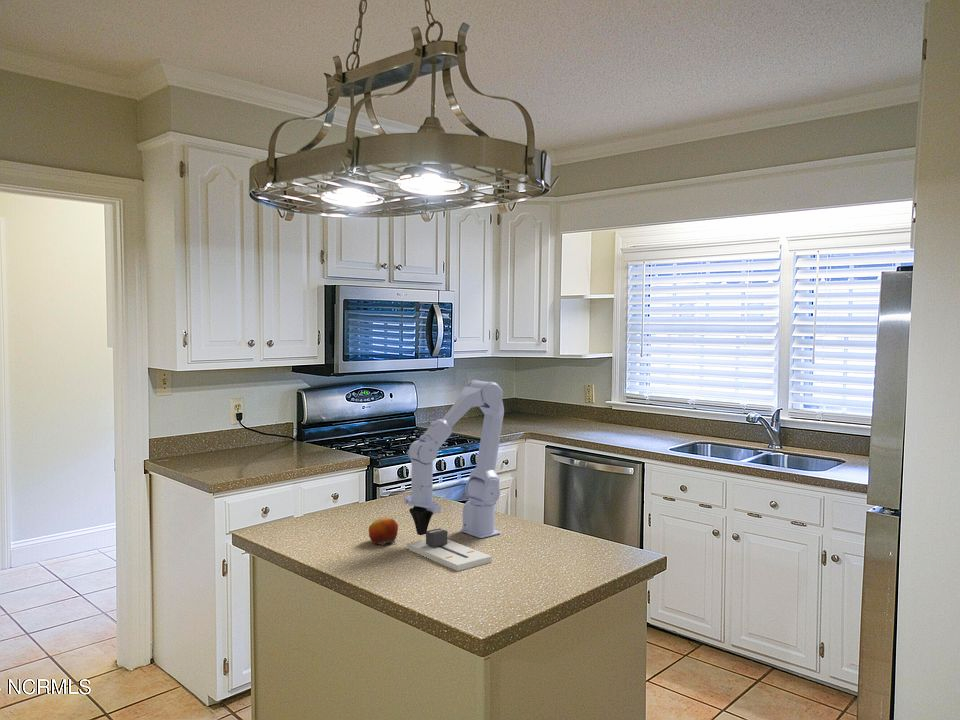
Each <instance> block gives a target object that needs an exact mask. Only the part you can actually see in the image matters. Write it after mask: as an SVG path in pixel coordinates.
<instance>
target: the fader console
mask: <svg viewBox="0 0 960 720" xmlns="http://www.w3.org/2000/svg"><path fill="white" fill-rule="evenodd" d="M407 549H409V550H408V551H410V550H411V551H410V552H412V551H413V552H412V553H414V552H415V553H414V554H416V553H418V554H417V555H419V554H420V555H419V556H421V555H422V557H423V556H424V558H426V557H427V558H426V559H428V558H429V559H428V560H430V559H431V561H433V562H435V563H437V562H438V563H437V564H440V565H442V566H445V567H446V568H450V569H452V570H454V571H456V572H460V571H464V570H467V569H471V568H474V567H478V566H482V565H486V564H491V563H492V561H493V560H492V559H493V557H492V555H489V554H486V553H484V552H482V551H479V550H477V549H473V548H471V547H468V546H466V545H464V544H460V543H457V542H455V541H453V540H451V539H448V538H447V544H446V545H442V546H437V547H432V546H429V545H427V544H426V539H422V540H418V541H414V542H413V541H412V542H409V543H406V550H407Z"/></svg>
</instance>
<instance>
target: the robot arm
mask: <svg viewBox="0 0 960 720" xmlns="http://www.w3.org/2000/svg"><path fill="white" fill-rule="evenodd" d="M503 396H504V391H503V389H502V388H501V386H500V385H499V384H498V383H497V382H494V381H484V380H479V379H473V380H470V381H468V383H467V385H466V386H465V387H463V388H462V390H461V394H460V396H459V397H458V398H457V399H456V400H455V402H454V403H453V405H452V406H451V407H450V409H449V410H448V411H447V412H446V414H445V415H444V416H443V418H440V419H436V420H435V421H431V422H430V425H429V427H428V429H426V430H425V432H424V433H423V434H421V435H420V436H419V439H417V440H414V441H413V442H412V443H411V444H410V445H409V449H408V450H407V453H406V454H407V456H408V458H409V460H410V465H411V495H406V496H405V495H404V497H403V503H404V504H406V505H408V506H410V508H409V510H408V511H409V513H410V516H411V517H412V519H413V522H414V526H415V530H416V533H417V535H419V536H424V535H426V531H428V528H429V524H430V522H431V519H432V517H433V515H434V514H440V513H442V512H441V509H442V508H441V507H442V506H441V505H440V504H438V503H437V502H436V501H434V500H433V478H434V477H433V471H434V470H433V462H434V461H435V460H436V459H437V457H438V451H439V450H440V448H441V447H442V445H443V444H444V443H445V442H446V441H447V440H448V438H449V437H450V436H451V435H452V433H453V426H454V425H455V424H456V423H457V422H458V421H459V420H460V419H461V418H463V416H464V415H465V414H466V413H467V412H468V411H469V410H470V409H472V408H476V407H478V408H479V409H480V410H481V411H482V413H483V414H484V416H483V421H482V427H481V428H482V429H481V435H480V441H479V446H478V447H479V448H478V454H477V460H476V465H475V468H474V469H473V470H471V471H470V473H469V478H468V480H467V482H466V484H465V488H464V491H465V494H466V496H467V497H468V498H469V499H468V500H467V501H466V502H465V503H464V504H463V507H462V528H460V529H459V531H460V532H461V533H465V534H467V535H469V536H473V537H475V538H479V539H483V538H488V537H492V536H497V535H500V534H501V533H502V531H500V530H496V529H495V527H496V525H495V523H496V522H495V521H496V505H497V501H498V500H499V498H500V496H501V489H500V477H499V476H498V474H497V472H496V466H497V459H498V454H499V453H498V452H499V447H500V441H501V440H500V439H501V434H502V428H503V420H504V415H505V408H504V407H505V406H504V402H503ZM411 507H412V508H411Z"/></svg>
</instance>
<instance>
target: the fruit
mask: <svg viewBox="0 0 960 720" xmlns="http://www.w3.org/2000/svg"><path fill="white" fill-rule="evenodd" d="M398 531H399V524H398V522H397V520H395V519H394V518H391V517H380V518H378V519H376V520H374V521H372V523H371V524H370V525H369V527H368V537H369V538H370V541H371V542H372V543H374V544H376V545H381V546H383V545H384V546H385V544H389V543H394V544H396V541H395V540H396V539H397V536H398Z"/></svg>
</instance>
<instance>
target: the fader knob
mask: <svg viewBox="0 0 960 720" xmlns="http://www.w3.org/2000/svg"><path fill="white" fill-rule="evenodd" d="M447 539H448V530H445V529H444V528H440V527H438V528H434V529H430V530H427V531H426V534H425V540H426V544H427V545H429V546H432V547H437V546H442V545H446V544H447Z"/></svg>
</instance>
